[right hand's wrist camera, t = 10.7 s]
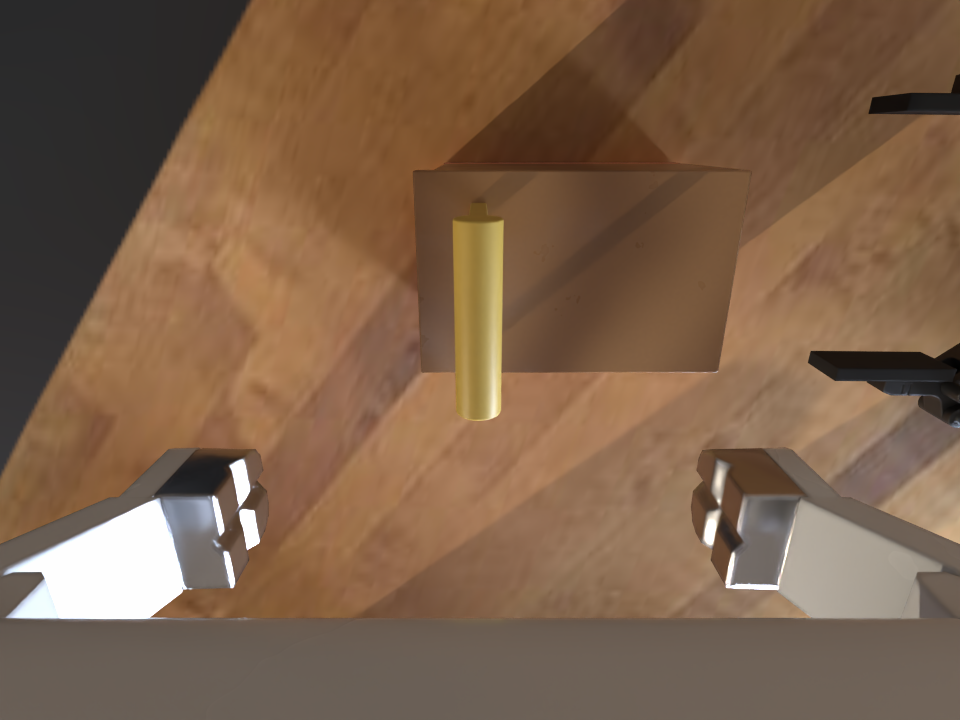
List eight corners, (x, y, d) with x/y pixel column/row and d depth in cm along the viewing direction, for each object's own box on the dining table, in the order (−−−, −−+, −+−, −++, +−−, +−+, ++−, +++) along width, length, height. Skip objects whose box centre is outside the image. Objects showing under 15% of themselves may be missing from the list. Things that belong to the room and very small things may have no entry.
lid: (422, 367, 28) (401, 450, 20) (414, 169, 25) (385, 181, 17) (711, 366, 28) (798, 450, 20) (744, 169, 25) (862, 181, 17)
